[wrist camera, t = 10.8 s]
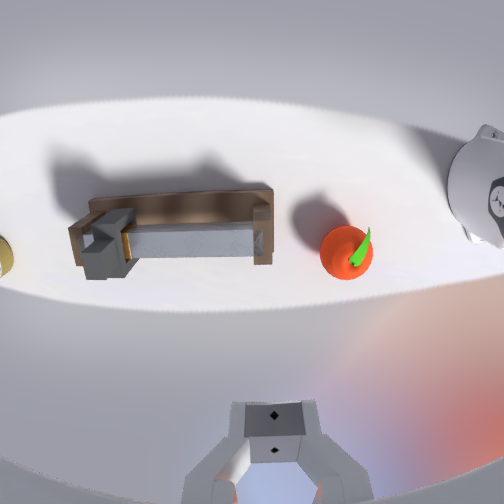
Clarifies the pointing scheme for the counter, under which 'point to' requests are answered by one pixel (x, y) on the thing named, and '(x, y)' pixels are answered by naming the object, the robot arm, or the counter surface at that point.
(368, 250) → the clementine
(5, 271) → the paper tube
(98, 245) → the grey clamp
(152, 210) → the base
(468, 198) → the robot arm
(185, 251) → the grey metal bar
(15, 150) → the counter surface
